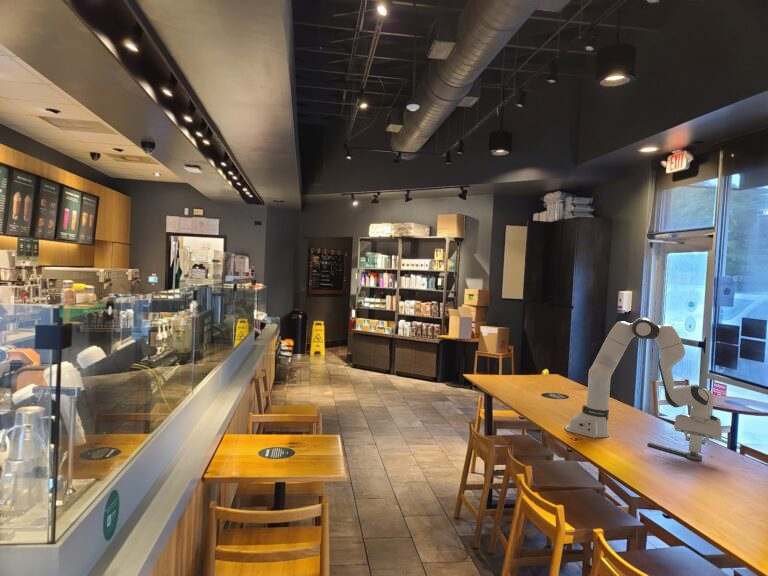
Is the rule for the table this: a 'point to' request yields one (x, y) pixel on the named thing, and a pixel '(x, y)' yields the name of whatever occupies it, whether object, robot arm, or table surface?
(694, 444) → the tan wooden block
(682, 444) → the table surface
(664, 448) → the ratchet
